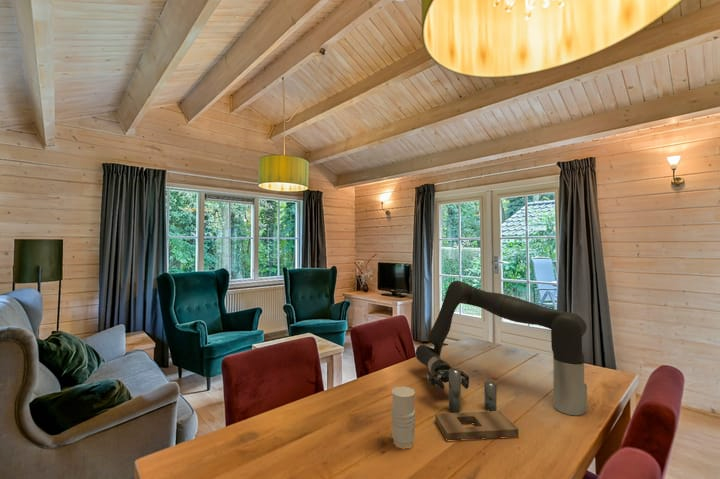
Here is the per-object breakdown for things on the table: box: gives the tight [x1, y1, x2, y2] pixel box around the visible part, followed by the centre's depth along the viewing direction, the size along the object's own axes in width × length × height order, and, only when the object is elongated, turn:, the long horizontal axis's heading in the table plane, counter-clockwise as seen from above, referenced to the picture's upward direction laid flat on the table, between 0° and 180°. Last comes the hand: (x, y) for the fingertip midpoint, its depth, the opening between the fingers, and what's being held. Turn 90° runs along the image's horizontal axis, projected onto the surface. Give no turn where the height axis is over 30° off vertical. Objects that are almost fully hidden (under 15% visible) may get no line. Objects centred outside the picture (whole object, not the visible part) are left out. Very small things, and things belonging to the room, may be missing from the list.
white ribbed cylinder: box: [390, 386, 416, 448], centre depth 99 cm, size 7×7×15 cm
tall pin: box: [448, 367, 462, 413], centre depth 118 cm, size 4×4×14 cm
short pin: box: [483, 380, 498, 411], centre depth 119 cm, size 4×4×9 cm
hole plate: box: [434, 410, 519, 441], centre depth 106 cm, size 22×11×2 cm, turn 95°
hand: (455, 386), depth 117 cm, fingers open, 8 cm apart
